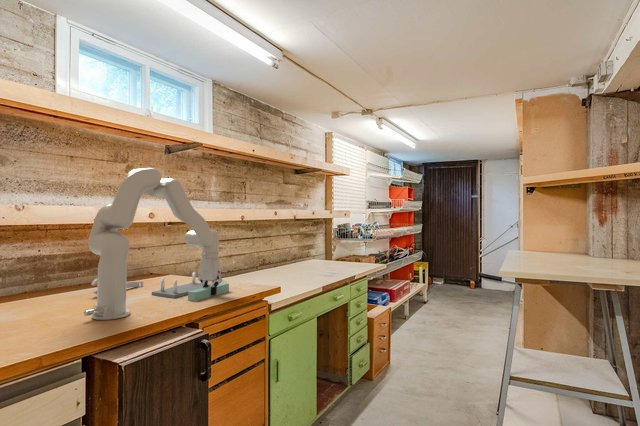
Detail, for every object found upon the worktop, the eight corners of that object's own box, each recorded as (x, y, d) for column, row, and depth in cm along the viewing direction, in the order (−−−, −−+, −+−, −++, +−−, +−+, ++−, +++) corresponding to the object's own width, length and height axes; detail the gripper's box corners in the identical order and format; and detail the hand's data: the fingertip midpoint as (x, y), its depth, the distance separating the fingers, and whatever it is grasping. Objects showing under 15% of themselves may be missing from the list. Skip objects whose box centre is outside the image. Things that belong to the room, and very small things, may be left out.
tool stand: (174, 298, 170) (174, 281, 170) (151, 295, 176) (152, 279, 176) (214, 287, 196) (215, 273, 196) (194, 285, 202) (194, 271, 202)
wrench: (142, 291, 196) (92, 297, 167) (139, 291, 196) (89, 296, 168) (144, 276, 197) (94, 279, 168) (141, 276, 197) (91, 278, 169)
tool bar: (194, 301, 165) (195, 292, 165) (187, 300, 167) (188, 291, 167) (228, 291, 187) (229, 283, 187) (222, 290, 189) (222, 282, 189)
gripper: (191, 255, 177) (190, 294, 177) (219, 258, 170) (218, 298, 171) (202, 254, 184) (201, 291, 184) (229, 256, 177) (229, 294, 177)
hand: (209, 294), depth 177 cm, fingers closed on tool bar, 4 cm apart
